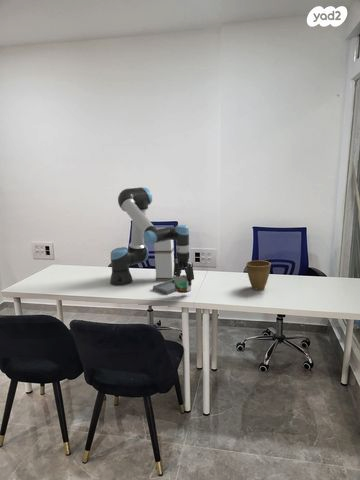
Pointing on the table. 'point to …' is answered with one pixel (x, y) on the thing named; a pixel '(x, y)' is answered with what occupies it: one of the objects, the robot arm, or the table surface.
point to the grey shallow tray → (165, 287)
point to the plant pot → (258, 273)
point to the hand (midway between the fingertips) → (183, 288)
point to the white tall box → (164, 260)
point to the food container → (180, 283)
